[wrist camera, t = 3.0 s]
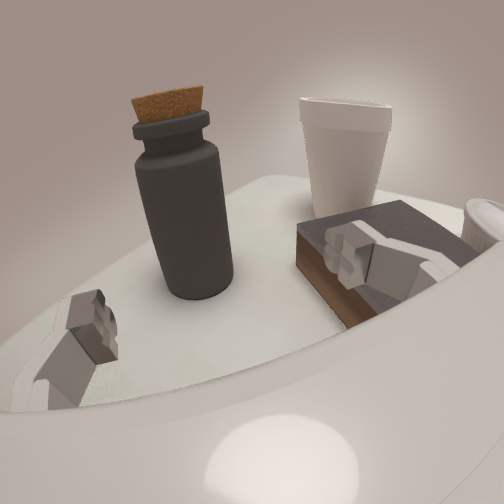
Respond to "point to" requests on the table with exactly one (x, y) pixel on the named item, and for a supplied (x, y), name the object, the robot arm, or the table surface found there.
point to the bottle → (183, 192)
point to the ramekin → (483, 224)
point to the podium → (390, 226)
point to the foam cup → (343, 151)
